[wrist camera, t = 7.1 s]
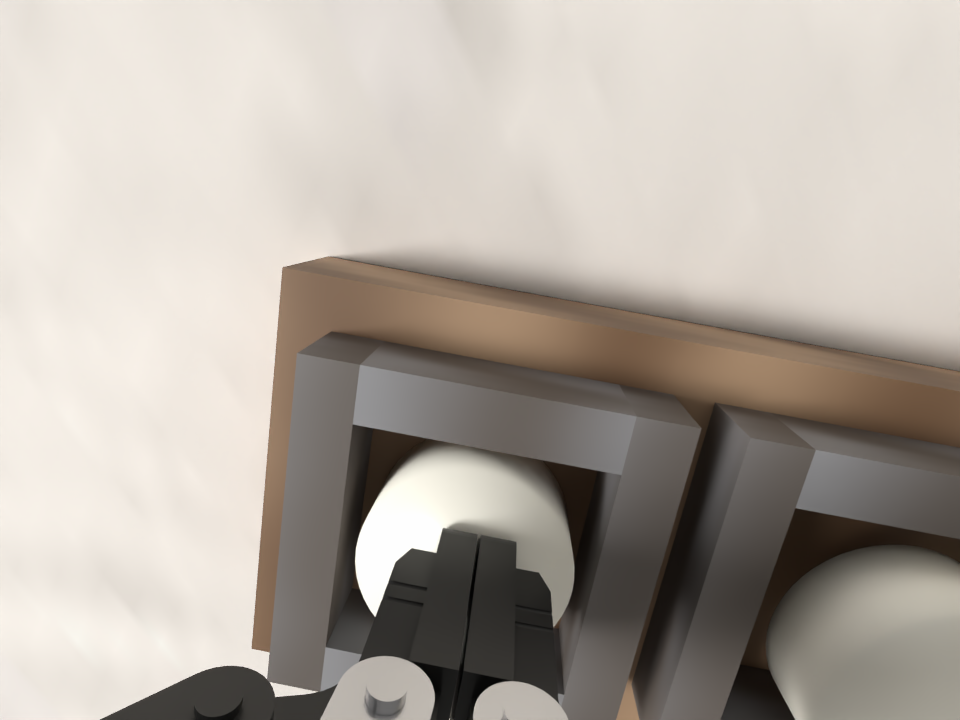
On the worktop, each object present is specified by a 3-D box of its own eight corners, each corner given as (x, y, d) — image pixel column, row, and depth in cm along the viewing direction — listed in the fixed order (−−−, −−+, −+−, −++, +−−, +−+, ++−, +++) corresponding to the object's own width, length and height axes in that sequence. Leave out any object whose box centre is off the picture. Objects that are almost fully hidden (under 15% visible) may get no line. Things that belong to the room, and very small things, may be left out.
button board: (295, 577, 18) (211, 713, 13) (327, 256, 15) (238, 278, 10) (1175, 750, 17) (1430, 961, 12) (1365, 445, 15) (1781, 561, 10)
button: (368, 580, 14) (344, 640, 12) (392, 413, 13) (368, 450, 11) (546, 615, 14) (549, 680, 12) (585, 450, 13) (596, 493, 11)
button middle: (738, 705, 12) (779, 799, 10) (805, 525, 11) (864, 592, 9) (947, 747, 12) (1027, 849, 10) (1034, 568, 11) (1143, 645, 9)
